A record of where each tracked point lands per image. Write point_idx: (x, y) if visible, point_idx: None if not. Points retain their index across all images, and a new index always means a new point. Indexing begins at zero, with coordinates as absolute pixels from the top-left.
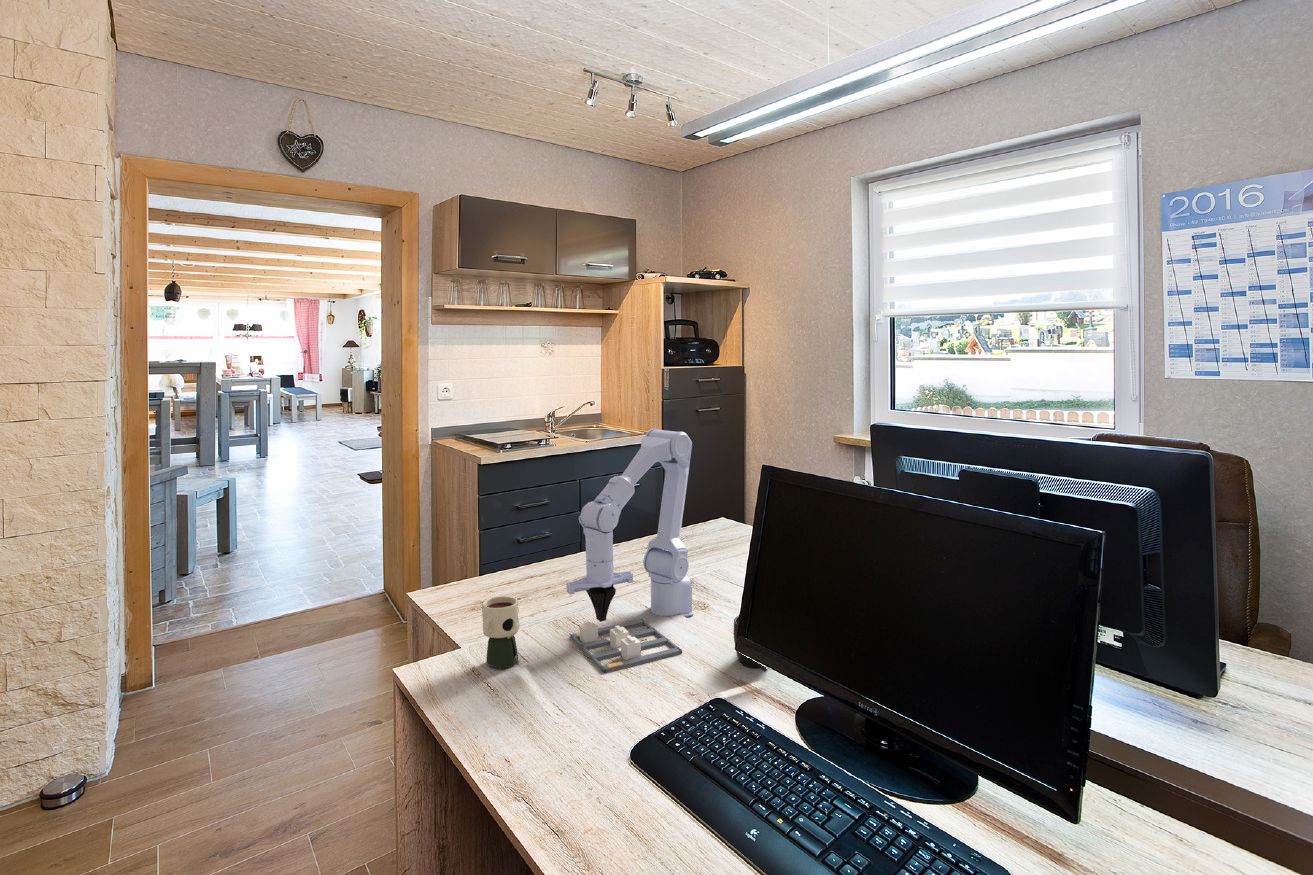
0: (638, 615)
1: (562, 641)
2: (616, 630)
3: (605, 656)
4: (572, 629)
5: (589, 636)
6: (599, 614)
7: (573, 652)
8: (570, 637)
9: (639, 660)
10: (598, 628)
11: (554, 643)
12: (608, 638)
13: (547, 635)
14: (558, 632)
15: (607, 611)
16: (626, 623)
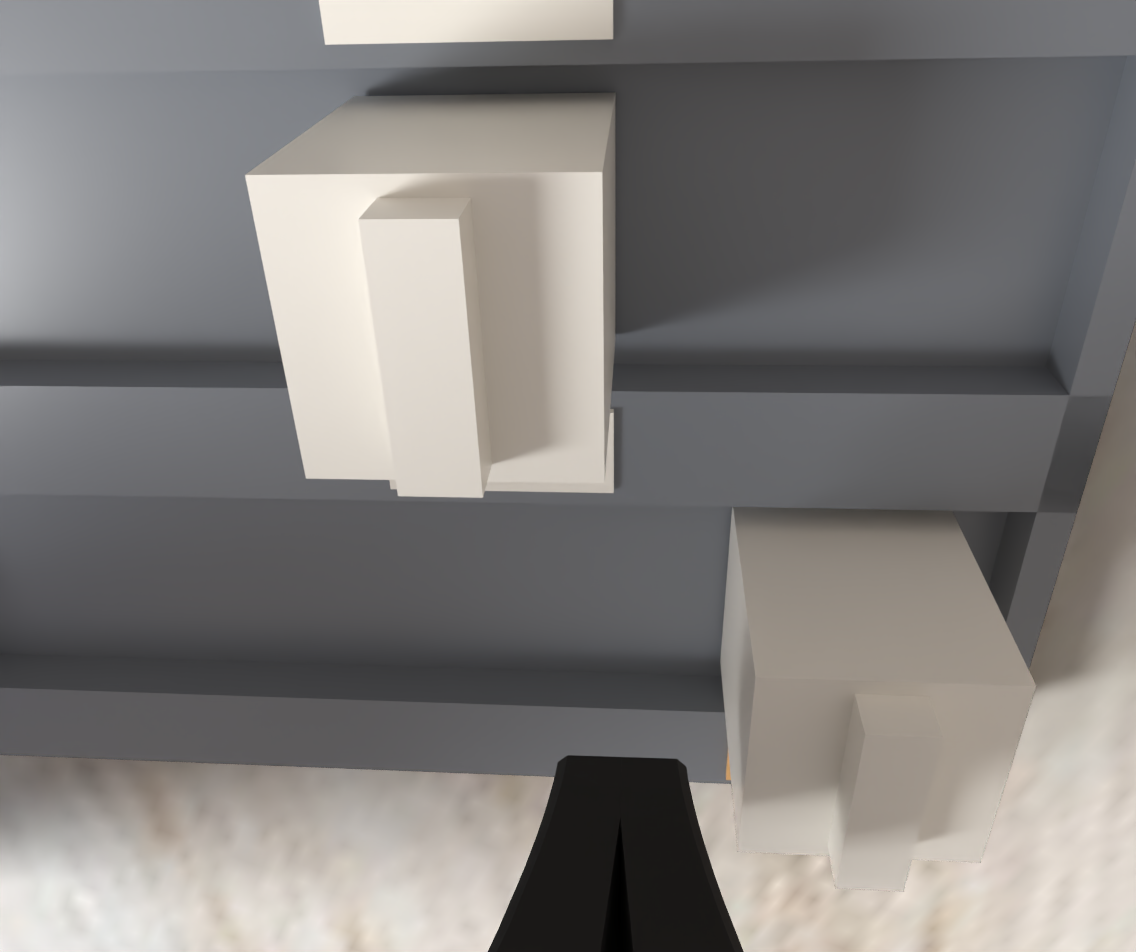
0: (18, 874)
1: (1019, 765)
2: (494, 375)
3: None
4: (766, 914)
5: (898, 581)
6: (717, 889)
7: (1097, 482)
8: None
9: None
10: None
11: (1126, 765)
12: None
13: (1063, 919)
14: (927, 922)
15: (517, 904)
16: (185, 737)
